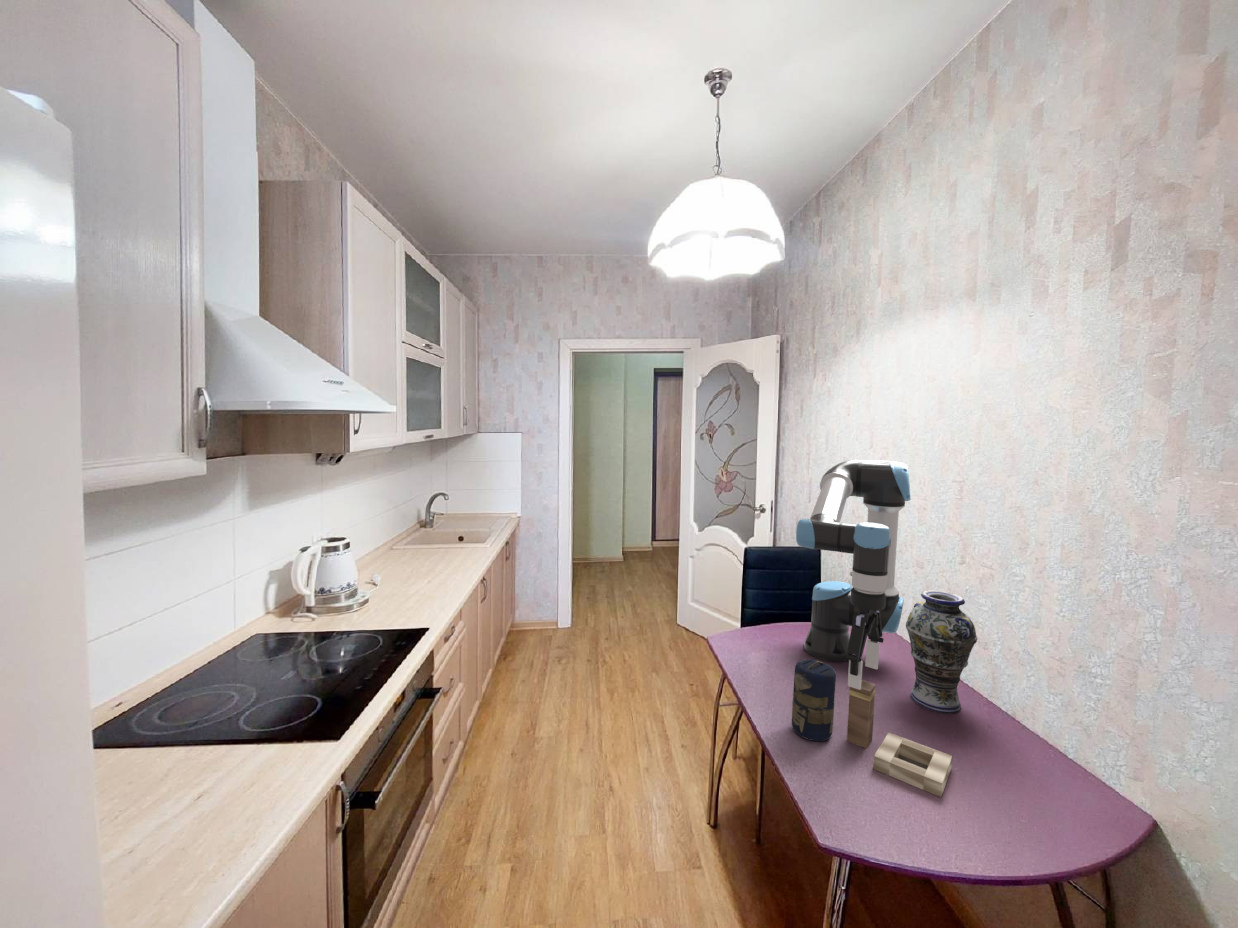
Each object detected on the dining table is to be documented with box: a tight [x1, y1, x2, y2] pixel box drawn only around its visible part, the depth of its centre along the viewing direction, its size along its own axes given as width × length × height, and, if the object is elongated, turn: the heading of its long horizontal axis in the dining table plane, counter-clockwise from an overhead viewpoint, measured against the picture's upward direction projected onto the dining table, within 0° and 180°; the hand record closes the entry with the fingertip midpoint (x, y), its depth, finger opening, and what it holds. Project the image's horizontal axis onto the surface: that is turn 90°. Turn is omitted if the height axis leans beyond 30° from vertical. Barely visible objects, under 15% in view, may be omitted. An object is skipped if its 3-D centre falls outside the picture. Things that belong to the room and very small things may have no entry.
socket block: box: [872, 732, 953, 798], centre depth 116 cm, size 12×13×3 cm
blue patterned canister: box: [791, 658, 837, 742], centre depth 128 cm, size 10×10×18 cm
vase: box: [905, 589, 978, 714], centre depth 143 cm, size 17×17×30 cm
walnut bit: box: [846, 679, 877, 749], centre depth 126 cm, size 5×5×14 cm
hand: (863, 677), depth 125 cm, fingers open, 13 cm apart
